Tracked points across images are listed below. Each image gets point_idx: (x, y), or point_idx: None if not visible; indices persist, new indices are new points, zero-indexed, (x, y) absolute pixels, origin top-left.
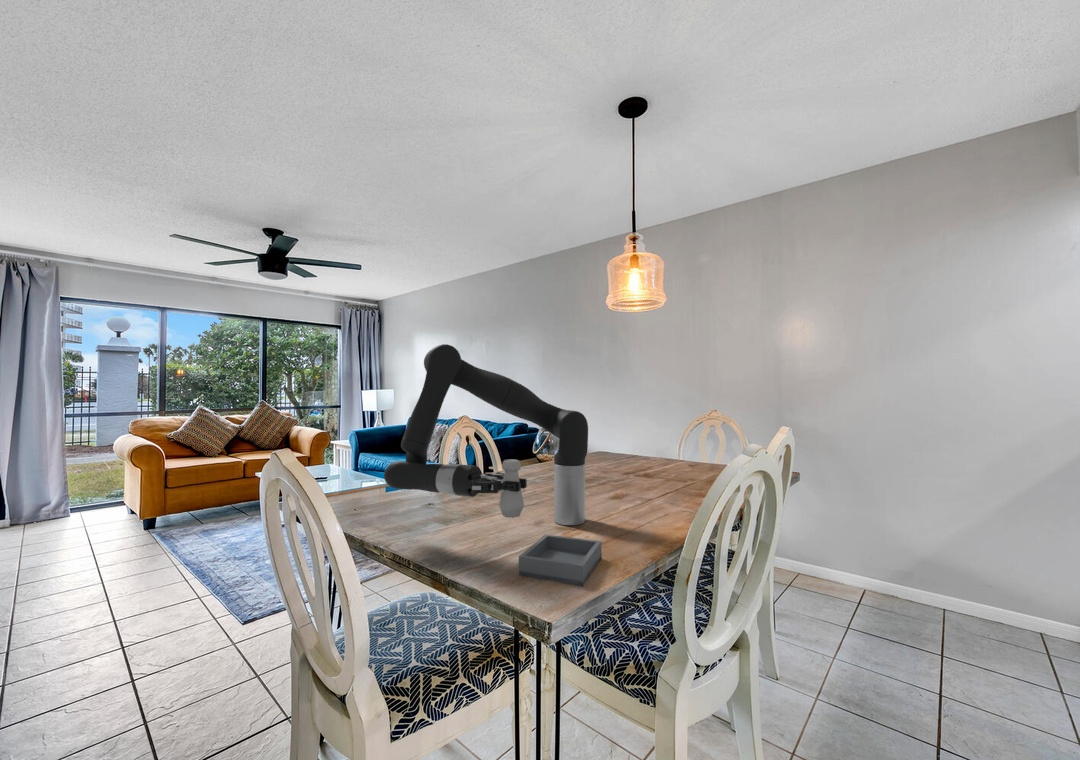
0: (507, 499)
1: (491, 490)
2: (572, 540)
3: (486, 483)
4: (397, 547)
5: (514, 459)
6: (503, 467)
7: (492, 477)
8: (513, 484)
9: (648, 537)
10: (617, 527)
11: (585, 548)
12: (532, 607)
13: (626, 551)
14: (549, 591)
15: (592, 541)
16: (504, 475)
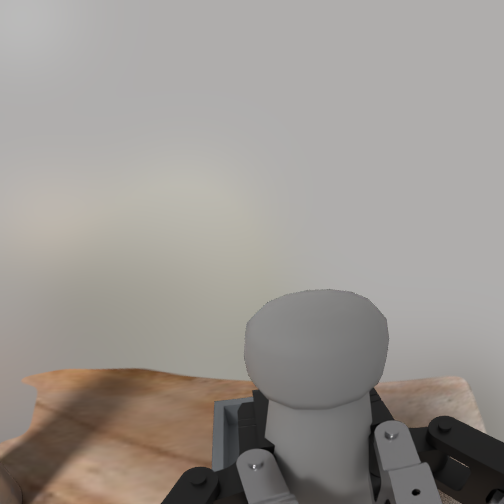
0: None
1: (450, 473)
2: (224, 445)
3: (497, 443)
4: None
5: (284, 304)
6: (383, 364)
7: (420, 478)
8: (373, 387)
9: (93, 393)
10: (39, 429)
11: (226, 433)
12: (461, 403)
13: (168, 407)
14: (408, 420)
15: (222, 411)
16: (354, 425)
